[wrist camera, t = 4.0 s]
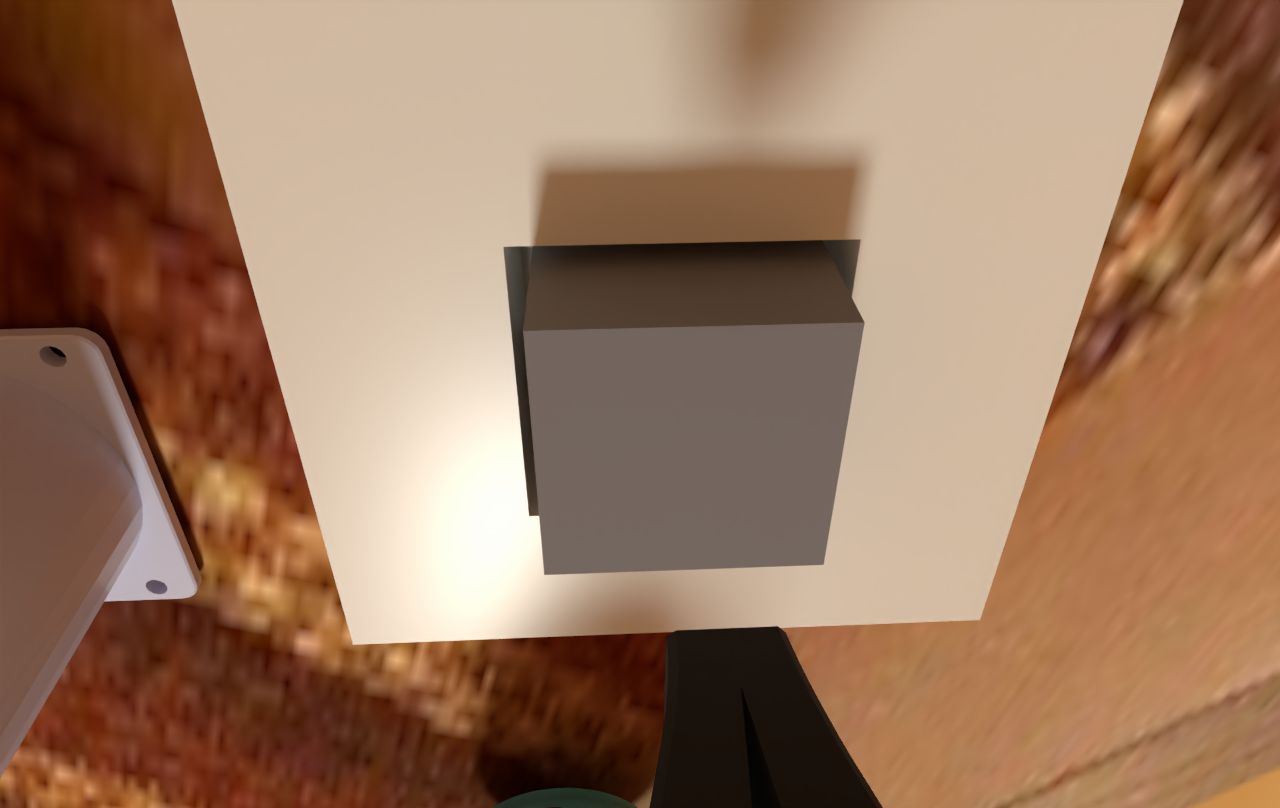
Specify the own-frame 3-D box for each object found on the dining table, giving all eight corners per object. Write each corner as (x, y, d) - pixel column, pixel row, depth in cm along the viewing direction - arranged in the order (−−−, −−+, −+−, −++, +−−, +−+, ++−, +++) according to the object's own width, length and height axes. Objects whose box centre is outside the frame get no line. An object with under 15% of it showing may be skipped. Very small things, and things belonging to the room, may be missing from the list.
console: (386, 520, 23) (352, 644, 19) (-7, -1258, 9) (-353, -1866, 6) (924, 502, 23) (979, 619, 20) (1342, -1191, 9) (1743, -1706, 6)
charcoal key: (549, 467, 18) (544, 574, 16) (532, 242, 15) (523, 330, 13) (791, 459, 18) (823, 564, 16) (820, 236, 15) (864, 322, 13)
